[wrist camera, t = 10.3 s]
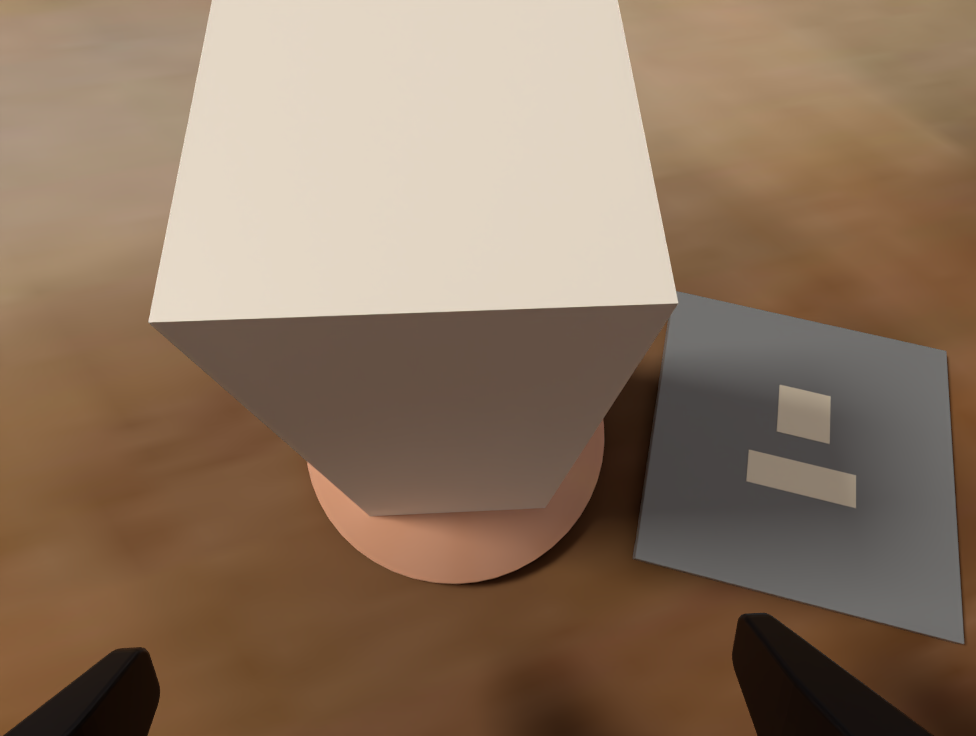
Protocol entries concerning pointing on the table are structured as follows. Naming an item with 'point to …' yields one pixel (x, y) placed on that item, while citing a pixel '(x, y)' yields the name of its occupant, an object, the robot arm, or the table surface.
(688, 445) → the gray tile
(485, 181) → the ivory block
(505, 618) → the table surface
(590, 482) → the peach dome
